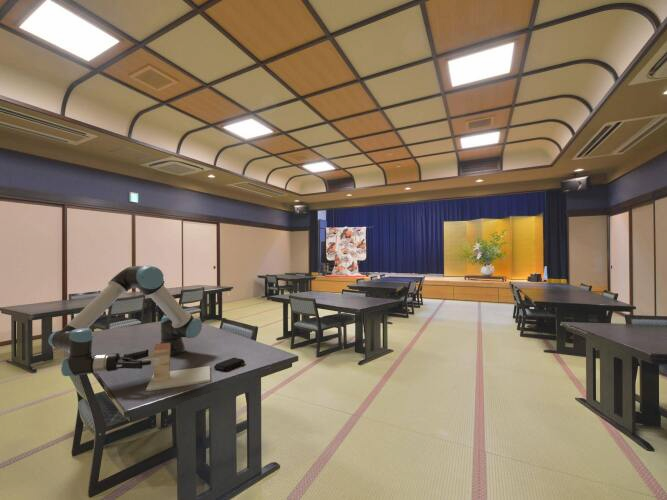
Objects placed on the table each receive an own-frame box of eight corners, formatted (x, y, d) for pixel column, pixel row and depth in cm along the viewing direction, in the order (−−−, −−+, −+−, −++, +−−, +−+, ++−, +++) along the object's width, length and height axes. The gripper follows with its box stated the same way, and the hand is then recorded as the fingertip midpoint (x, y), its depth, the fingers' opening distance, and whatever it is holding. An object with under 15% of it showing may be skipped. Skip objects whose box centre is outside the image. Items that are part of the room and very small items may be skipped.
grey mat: (146, 391, 132) (146, 389, 132) (153, 375, 151) (153, 373, 151) (210, 381, 142) (210, 379, 142) (210, 367, 161) (210, 366, 161)
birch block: (155, 377, 145) (156, 344, 146) (169, 375, 148) (170, 342, 148) (153, 382, 140) (154, 347, 140) (168, 380, 142) (168, 345, 142)
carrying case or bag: (226, 373, 154) (247, 364, 166) (226, 367, 154) (247, 359, 167) (212, 370, 159) (234, 361, 172) (212, 364, 159) (234, 356, 172)
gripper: (115, 362, 147) (164, 356, 155) (98, 381, 124) (157, 373, 132) (115, 346, 147) (165, 342, 155) (98, 362, 124) (157, 356, 132)
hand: (161, 356), depth 144 cm, fingers open, 13 cm apart
